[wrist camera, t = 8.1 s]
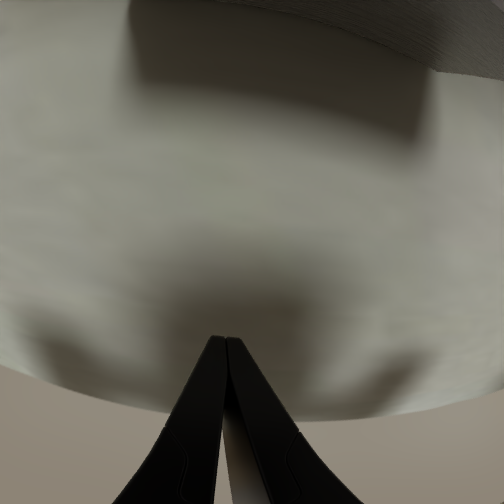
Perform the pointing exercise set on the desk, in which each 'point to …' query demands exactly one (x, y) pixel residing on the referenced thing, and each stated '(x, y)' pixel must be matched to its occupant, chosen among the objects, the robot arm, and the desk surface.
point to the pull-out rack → (417, 28)
